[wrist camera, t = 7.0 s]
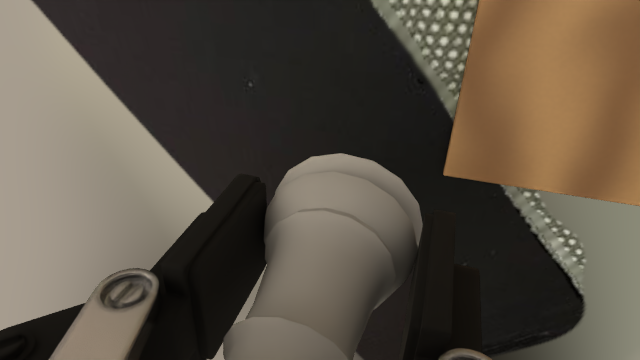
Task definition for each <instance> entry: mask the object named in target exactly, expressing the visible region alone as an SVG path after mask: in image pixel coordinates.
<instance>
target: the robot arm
mask: <svg viewBox="0 0 640 360" xmlns="http://www.w3.org/2000/svg"><path fill="white" fill-rule="evenodd" d="M266 210H267V203H266V185H265V184H264V183H261V181H260V178H259V177H255V176H250V175H245V174H239V175H237V176H236V178H235V179H234V180H233V181H232V182H231V183H230V184H229V186H228V187H227V188H226V189H225V190H224V191H223V193H222V194H221V195H220V196H219V197H218V198H217V199H216V201H215V202H214V203H213V204H212V205H211V206H210V208H209V209H208V210H207V211H206V212H204V213H201V214H200V215H199V216H198V217H197V218H196V219H195V220H194V221H193V222H192V223H191V225H190V226H189V227H188V228H187V229H186V230H185V231H184V233H183V234H182V235H181V236H180V237H179V238H178V239H177V241H176V242H175V243H174V244H173V245H172V246H171V247H170V248H169V250H168V251H167V252H166V253H165V254H164V255H163V257H162V258H161V259H160V260H159V261H158V262H157V263H156V265H154V267H153V268H152V269H151V270H150V271H148V270H145V269H140V268H135V269H134V268H133V269H126V270H122V271H119V272H116V273H114V274H112V275H110V276H108V277H107V278H105V279H104V280H103V281H101V283H100V284H99V285H98V286H97V287H96V288H95V290H94V292H93V293H92V294H91V296H90V297H89V299H88V300H87V302H86V303H84V304H81V305H77V306H74V307H71V308H68V309H65V310H62V311H59V312H55V313H52V314H49V315H46V316H43V317H40V318H37V319H33V320H31V321H27V322H24V323H21V324H18V325H15V326H11V327H8V328H6V329H3V330H1V331H0V360H207V359H213V358H214V356H215V355H216V353H217V351H218V350H219V348H220V346H221V344H222V343H223V338H224V336H225V335H226V334H227V332H228V331H229V330H230V328H231V327H232V325H233V323H234V321H235V320H236V318H237V316H238V314H239V312H240V311H241V309H242V307H243V305H244V304H245V302H246V300H247V298H248V297H249V295H250V293H251V291H252V289H253V288H254V286H255V284H256V283H257V281H258V279H259V277H260V275H261V274H262V272H263V270H264V268H265V266H266V264H267V262H266V260H265V248H266V245H265V243H264V226H265V215H266ZM455 222H456V214H455V213H451V212H446V211H440V210H434V213H433V215H432V214H427V213H425V217H424V222H423V227H422V232H421V237H420V242H419V247H418V252H417V257H416V262H415V267H414V272H413V277H412V282H411V287H410V293H409V299H408V305H407V312H406V318H405V325H404V331H403V338H402V345H401V351H400V358H399V360H492V359H491V358H489V357H487V356H486V355H484V354H482V334H481V305H480V275H479V270H478V269H476V268H471V267H466V266H462V265H457V264H454V249H455Z"/></svg>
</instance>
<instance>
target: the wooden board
mask: <svg viewBox="0 0 640 360" xmlns="http://www.w3.org/2000/svg"><path fill="white" fill-rule="evenodd" d="M443 174H444V175H445V176H451V177H458V178H464V179H470V180H477V181H483V182H490V183H496V184H502V185H509V186H515V187H521V188H528V189H534V190H541V191H547V192H554V193H560V194H566V195H572V196H580V197H585V198H592V199H599V200H604V201H611V202H617V203H624V204H630V205H636V206H640V0H479V2H478V7H477V12H476V17H475V21H474V26H473V31H472V36H471V41H470V45H469V50H468V55H467V60H466V65H465V70H464V74H463V79H462V84H461V89H460V94H459V98H458V103H457V108H456V113H455V118H454V122H453V127H452V132H451V137H450V142H449V147H448V151H447V156H446V161H445V166H444V172H443Z"/></svg>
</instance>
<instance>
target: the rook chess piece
mask: <svg viewBox="0 0 640 360" xmlns="http://www.w3.org/2000/svg"><path fill="white" fill-rule="evenodd" d="M422 227H423V224H422V219H421V214H420V209H419V204H418V202H417V201H416V199H415V198H414V197H413V195H412V194H411V192H410V191H409V190H408V188H407V187H406V185H405V184H404V183H403V181H402V180H401V179H400V178H399V177H397V176H396V175H394V174H392V173H391V172H389V171H388V170H386V169H385V168H383V167H382V166H380V165H379V164H377V163H376V162H374V161H371V160H367V159H363V158H359V157H355V156H351V155H347V154H343V153H340V154H332V155H323V156H315V157H311V158H309V159H307V160H305V161H304V162H302V163H300V164H299V165H297V166H295V167H294V168H292V169H290V170H289V171H288V172H287V174H286V175H285V177H284V178H283V180H282V182H281V183H280V185H279V186H278V188H277V190H276V193H275V196H274V198H273V199H272V201H271V202H270V204H269V206H268V207H267V210H266V215H265V226H264V243H265V245H266V248H265V260H266V262H267V267H266V270H265V272H264V275H263V278H262V281H261V284H260V287H259V289H258V292H257V295H256V298H255V301H254V303H253V306H252V308H251V309H250V311H249V313H248V315H247V317H246V319H245V320H243V321H241V322H238V323H236V324H234V325H233V326H232V327H231V328H230V330H229V331H228V332H227V334H226V335H225V336H224V338H223V349H224V350H223V355H224V359H225V360H353V357H354V353H355V350H356V348H357V345H358V343H359V341H360V339H361V336H362V334H363V332H364V329H365V327H366V325H367V323H368V320H369V318H370V316H371V313H372V311H373V310H374V309H376V308H377V307H378V306H379V305H380V304H381V303H382V302H383V301H384V300H385V299H386V298H388V297H389V296H390V295H391V294H392V293H393V292H394V291H395V290H396V289H397V288H398V287H399V286H400V285H402V284H403V283H404V282H405V281H406V279H407V278H408V276H409V275H410V273H411V270H412V267H413V264H414V261H415V258H416V255H417V252H418V246H419V242H420V237H421V232H422Z"/></svg>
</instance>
